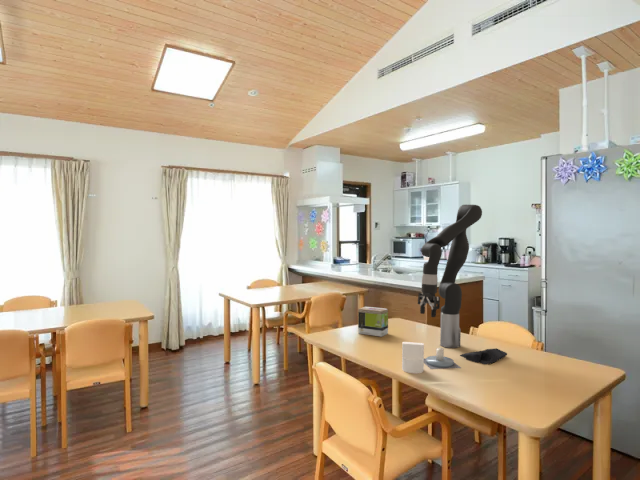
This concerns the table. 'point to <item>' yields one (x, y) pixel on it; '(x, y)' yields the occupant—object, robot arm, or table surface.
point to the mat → (439, 367)
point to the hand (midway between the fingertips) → (427, 315)
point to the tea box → (373, 321)
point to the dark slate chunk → (485, 356)
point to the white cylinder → (412, 357)
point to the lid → (440, 359)
